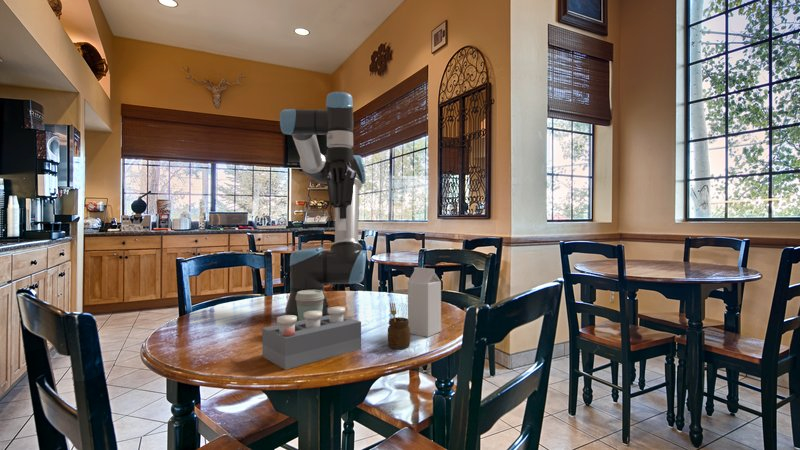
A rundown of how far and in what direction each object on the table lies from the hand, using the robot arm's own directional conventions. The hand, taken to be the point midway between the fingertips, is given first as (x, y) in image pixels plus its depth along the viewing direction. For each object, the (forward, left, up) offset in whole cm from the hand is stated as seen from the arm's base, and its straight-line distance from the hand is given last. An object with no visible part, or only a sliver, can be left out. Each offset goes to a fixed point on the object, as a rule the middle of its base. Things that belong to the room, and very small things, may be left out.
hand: (340, 230), depth 115 cm
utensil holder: (+19, +5, -31) cm, 36 cm away
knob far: (+8, -7, -27) cm, 29 cm away
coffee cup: (-9, -5, -31) cm, 32 cm away
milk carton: (+15, +19, -31) cm, 39 cm away
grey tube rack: (+8, -14, -30) cm, 34 cm away
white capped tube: (+8, -21, -27) cm, 35 cm away
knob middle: (+8, -14, -27) cm, 32 cm away
